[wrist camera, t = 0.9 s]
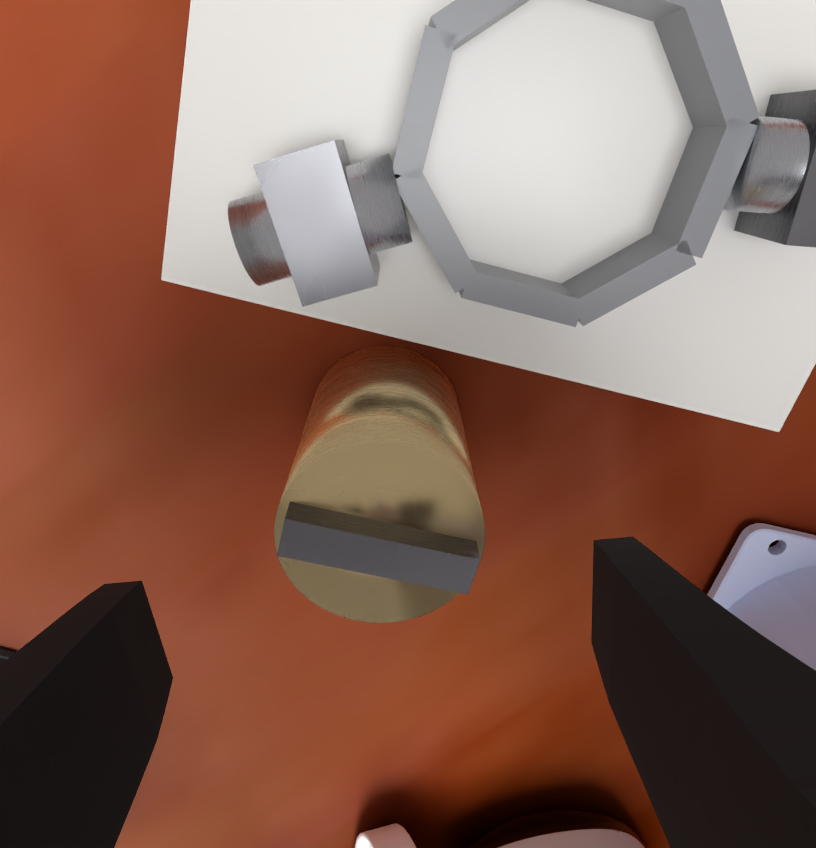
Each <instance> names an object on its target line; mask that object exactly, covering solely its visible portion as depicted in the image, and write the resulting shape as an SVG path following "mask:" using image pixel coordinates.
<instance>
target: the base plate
mask: <svg viewBox="0 0 816 848" xmlns="http://www.w3.org/2000/svg"><path fill="white" fill-rule="evenodd" d="M808 90H816V0H191V4H190V13H189V23H188V32H187V42H186V51H185V60H184V70H183V79H182V89H181V98H180V107H179V117H178V126H177V136H176V145H175V154H174V164H173V173H172V183H171V192H170V201H169V211H168V220H167V230H166V239H165V248H164V258H163V267H162V277H161V280H163V281H167V282H171V283H175V284H179V285H183V286H187V287H192V288H196V289H200V290H204V291H208V292H212V293H216V294H220V295H224V296H228V297H232V298H236V299H240V300H244V301H248V302H253V303H257V304H261V305H265V306H269V307H273V308H277V309H281V310H285V311H289V312H293V313H297V314H301V315H305V316H309V317H313V318H318V319H322V320H326V321H330V322H334V323H338V324H342V325H346V326H350V327H354V328H358V329H362V330H366V331H370V332H374V333H378V334H383V335H387V336H391V337H395V338H399V339H403V340H407V341H411V342H415V343H419V344H423V345H427V346H431V347H435V348H439V349H444V350H448V351H452V352H456V353H460V354H464V355H468V356H472V357H476V358H480V359H484V360H488V361H492V362H496V363H500V364H504V365H509V366H513V367H517V368H521V369H525V370H529V371H533V372H537V373H541V374H545V375H549V376H553V377H557V378H561V379H565V380H570V381H574V382H578V383H582V384H586V385H590V386H594V387H598V388H602V389H606V390H610V391H614V392H618V393H622V394H626V395H630V396H635V397H639V398H643V399H647V400H651V401H655V402H659V403H663V404H667V405H671V406H675V407H679V408H683V409H687V410H691V411H695V412H700V413H704V414H708V415H712V416H716V417H720V418H724V419H728V420H732V421H736V422H740V423H744V424H748V425H752V426H756V427H761V428H765V429H769V430H773V431H777V432H779V431H780V429H781V427H782V426H783V424H784V422H785V420H786V418H787V416H788V414H789V412H790V411H791V409H792V407H793V405H794V403H795V401H796V399H797V397H798V396H799V394H800V392H801V390H802V388H803V386H804V384H805V382H806V381H807V379H808V377H809V375H810V373H811V371H812V369H813V367H814V366H815V364H816V248H815V247H803V246H791V245H784V244H780V243H777V242H773V241H769V240H766V239H762V238H759V237H755V236H752V235H748V234H744V233H741V232H737V231H734V229H735V225H736V221H737V217H738V214H739V211H731V210H724V209H723V208H724V206H725V204H726V201H727V199H728V197H729V194H730V192H731V190H732V187H733V185H734V183H735V181H736V178H737V176H738V174H739V171H740V169H741V167H742V164H743V162H744V160H745V157H746V155H747V153H748V150H749V148H750V146H751V143H752V141H753V139H754V136H755V134H756V130H757V125H754V124H751V123H750V122H752V121H753V120H755V119H757V118H759V117H760V116H765V114H766V110H767V106H768V103H769V99H770V95H772V94H781V93H790V92H799V91H808ZM333 140H344V143H345V147H346V150H347V154H348V157H349V160H350V164H355V163H358V162H361V161H364V160H368V159H371V158H374V157H378V156H381V155H384V154H388V153H389V154H390V157H391V160H392V164H393V171H394V174H396V182H397V186H398V190H399V193H400V196H401V198H402V200H403V204H404V208H405V212H406V215H407V219H408V223H409V227H410V231H411V236H412V240H413V242H411V243H408V244H404V245H401V246H397V247H394V248H390V249H387V250H383V251H380V252H376V253H377V257H378V260H379V263H380V271H379V278H378V285H377V286H374V287H371V288H367V289H364V290H360V291H357V292H353V293H350V294H346V295H343V296H339V297H335V298H332V299H328V300H325V301H321V302H318V303H314V304H311V305H307V306H304V307H302V304H301V301H300V298H299V296H298V293H297V290H296V287H295V284H294V281H293V278H292V277H289V278H286V279H282V280H279V281H275V282H272V283H268V284H265V285H262V286H258V285H256V284H255V283H254V282H253V281H252V279H251V278H250V276H249V275H248V273H247V272H246V270H245V268H244V266H243V264H242V262H241V259H240V257H239V255H238V252H237V249H236V247H235V244H234V241H233V237H232V234H231V230H230V225H229V220H228V204H229V202H230V201H232V200H235V199H239V198H242V197H245V196H248V195H252V194H255V193H258V192H262V189H261V186H260V183H259V181H258V178H257V175H256V172H255V169H254V166H253V165H255V164H258V163H262V162H265V161H268V160H271V159H275V158H278V157H281V156H284V155H288V154H291V153H294V152H298V151H301V150H304V149H307V148H311V147H314V146H317V145H320V144H324V143H327V142H330V141H333Z"/></svg>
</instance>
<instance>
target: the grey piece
mask: <svg viewBox="0 0 816 848" xmlns="http://www.w3.org/2000/svg"><path fill="white" fill-rule="evenodd" d="M253 166H254V169H255V172H256V175H257V178H258V181H259V183H260V186H261V189H262V192H258V193H255V194H252V195H248V196H245V197H242V198H239V199H235V200H232V201H230V202H229V204H228V220H229V225H230V230H231V234H232V237H233V241H234V244H235V247H236V249H237V252H238V255H239V257H240V259H241V262H242V264H243V266H244V268H245V270H246V272H247V273H248V275H249V276H250V278H251V279H252V281H253V282H254V283H255V284H256V285H258V286H262V285H265V284H268V283H272V282H275V281H279V280H282V279H286V278H289V277H292V278H293V281H294V284H295V287H296V290H297V293H298V296H299V298H300V301H301V304H302V307H304V306H307V305H311V304H314V303H318V302H321V301H325V300H328V299H332V298H335V297H339V296H343V295H346V294H350V293H353V292H357V291H360V290H364V289H367V288H371V287H374V286H377V285H378V278H379V271H380V263H379V260H378V257H377V253H376V252H380V251H383V250H387V249H390V248H394V247H397V246H401V245H404V244H408V243H411V242H413V240H412V236H411V231H410V227H409V223H408V219H407V215H406V212H405V208H404V204H403V200H402V198H401V196H400V193H399V190H398V186H397V182H396V174H394V171H393V164H392V160H391V157H390V154H389V153H388V154H384V155H381V156H378V157H374V158H371V159H368V160H364V161H361V162H358V163H355V164H350V160H349V157H348V154H347V150H346V147H345V143H344V140H333V141H330V142H327V143H324V144H320V145H317V146H314V147H311V148H307V149H304V150H301V151H298V152H294V153H291V154H288V155H284V156H281V157H278V158H275V159H271V160H268V161H265V162H262V163H258V164H255V165H253Z"/></svg>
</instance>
